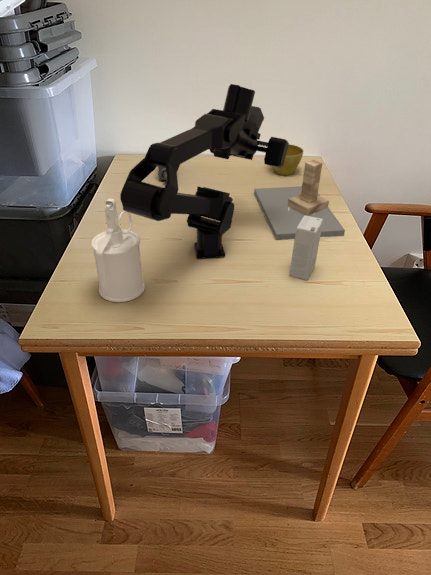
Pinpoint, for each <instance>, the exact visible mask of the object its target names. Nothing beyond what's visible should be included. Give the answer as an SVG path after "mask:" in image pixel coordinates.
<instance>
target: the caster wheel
mask: <svg viewBox="0 0 431 575" xmlns="http://www.w3.org/2000/svg"><path fill="white" fill-rule="evenodd" d="M157 168H158V174H157V175H158V178H159V181H161V180H166V182H167V173H166V168H161V167H157Z"/></svg>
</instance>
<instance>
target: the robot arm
mask: <svg viewBox="0 0 431 575" xmlns="http://www.w3.org/2000/svg"><path fill="white" fill-rule="evenodd" d="M255 94H256V91H255V90H254V89H250V88H247V87H243V86H240V85H239V84H233V83H230V85H228V88H227V92H226V97H225V100H224V104H223V109H216V108H212V109H211V110H210V111H209V112H207V113H204V114H203V115H201V116H200V117H199V118H197V119H196V120H195V122H194V126H193V127H192V128H190V129H188V130H186V131H182V132H181V133H179V134H176V135H173V136H172V137H169V138H167V139H165V140H163V141H161V142H155V143H154V142H153V143H152V144H150V146H149V147H148V149H147V151H146V154H145V156H144V158H143V159H141V160H140V161H139V162H138V163H137V164H136V165H135V166H133V168H132V169H130V170H129V172H128V175H127V177H126V180H125V182H124V184H123V186H122V189H121V191H120V195H119V199H120V201H121V205H122V210H123V211H126V212H129V213H130V214H133V215H136V216H139V217H143V218H146V219H150V220H153V221H156V222H161V221H164V220H167V219H170V218H171V216H172V215H188V216H187V219H186V223H187V227H189V228H194V229H196V242H194V243H193V244H194V251H195V255H196V256H195V257H196V259H212V258H213V259H214V258H225V257H226V252H225V249H224V245H223V235H224V234H225V233H226V232H228V230H230V228H231V227H232V222H233V217H234V212H235V203H234V202H233V198H232V197H231V196H230V192H225V191H222V190H218V189H214V188H209V187H205V186H203V187H201V186H197V188H196V191H195V194H192V193H184V192H179V183H178V171H179V168H180V166H181V165H182V164H183V163H186V162H187V161H189V160H190V159H191V160H192V159H193V158H195V157H197V156H198V155H201V154H202V153H204V152H206V151H208V150H209V151H210V152H209V153H211V154H213V157H215V158H219V159H223V160H224V159H225V160H229V159H230V157H231V156H233V157H236V158H239V159H245V160H250V161H253V159H254V155H255V154H256V153H257V152H260V153H265V154H264V157H263V158H264V159H263V163H264V165H266V166H270V167H273V168H274V167H278V168H281V167H282V166H283V165H284V161H285V157H286V153H287V150H288V146H289V144H290V142H289V141H288V140H287V139H285V138H281V137H275V136H270V138H269V139H268V142H266V141H263V140H260V137H261V133H260V132H259V131H260V128H261V127H262V124H263V122H264V119H265V116H264V114H263V110H262V108H261V107H259V106H253V102H254V98H255ZM158 167H161V168H166V173H167V181H166V183H165V186H164V187H163V186H160V185H157V184H153V183H149V182H145V181H144V180H145V179H146V178H147V177H148V176H149V175H150V174H151V173H152V172H154V171H155V170H156V169H157V168H158Z"/></svg>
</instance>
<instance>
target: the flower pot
mask: <svg viewBox="0 0 431 575" xmlns="http://www.w3.org/2000/svg"><path fill="white" fill-rule="evenodd" d="M304 153H305V152H304V149H303V147H300V146H298V145H295V144H290V143H289V146H288V150H287V153H286V157H285V161H284V165H283V166H282V167H281V168H278V167H273V168H274V170H275V173H276V174H278V175H281V176H290V174H291V175H292V174H293V173H294V172H295V171H296V170H297V168H298V167H299V165H300V162H301V161H302V158H303V155H304Z"/></svg>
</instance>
